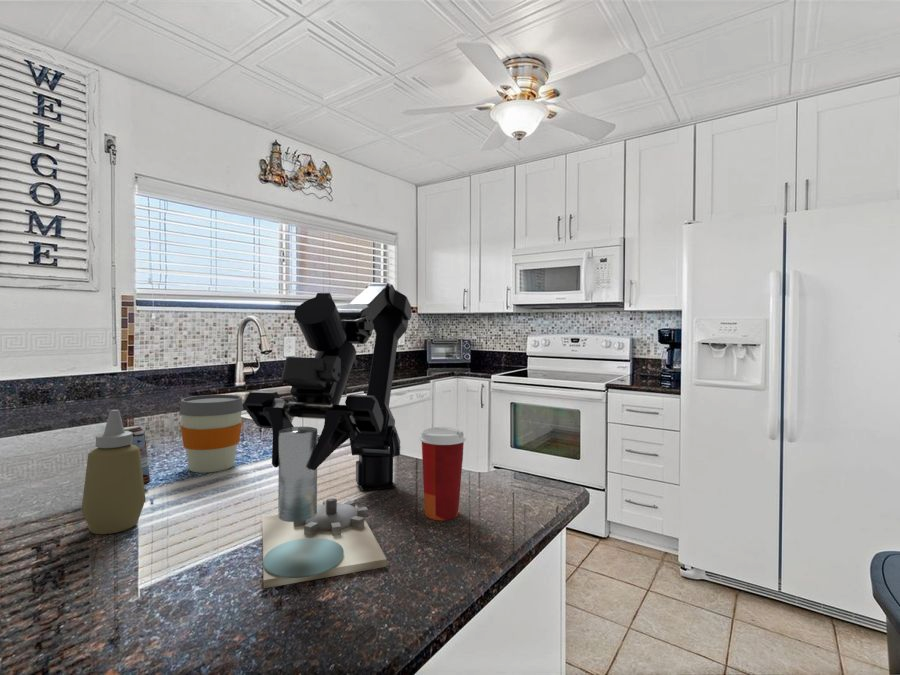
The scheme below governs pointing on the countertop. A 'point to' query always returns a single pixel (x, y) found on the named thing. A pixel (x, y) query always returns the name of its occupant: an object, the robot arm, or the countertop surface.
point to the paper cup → (442, 471)
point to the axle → (297, 474)
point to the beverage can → (141, 450)
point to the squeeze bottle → (113, 480)
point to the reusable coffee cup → (211, 431)
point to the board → (319, 545)
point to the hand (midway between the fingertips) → (293, 467)
